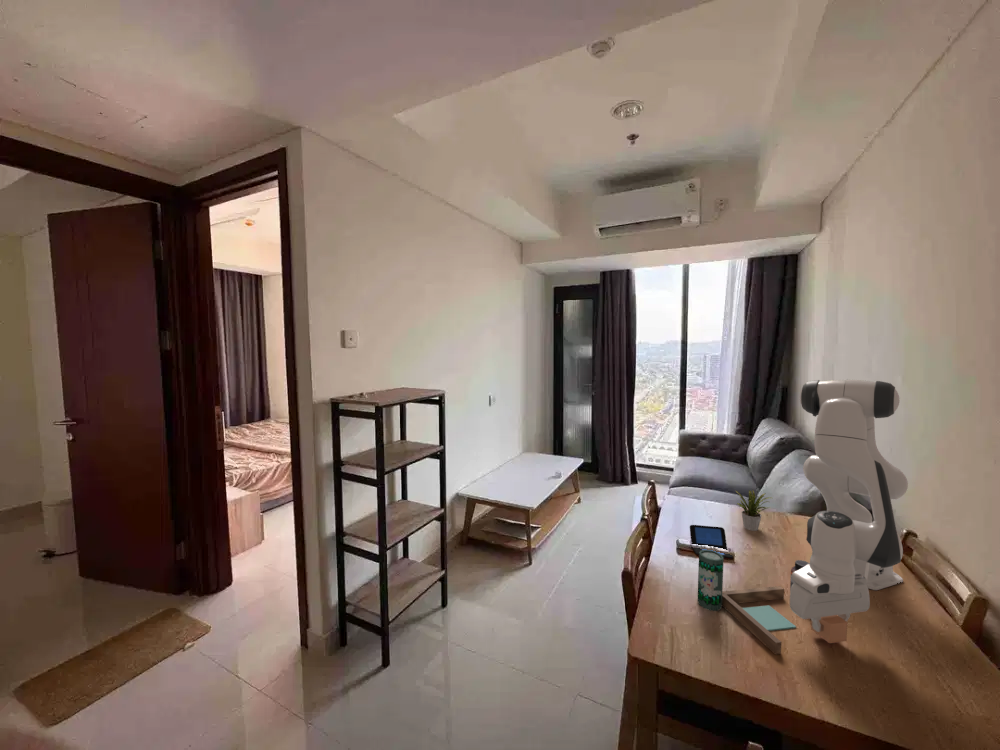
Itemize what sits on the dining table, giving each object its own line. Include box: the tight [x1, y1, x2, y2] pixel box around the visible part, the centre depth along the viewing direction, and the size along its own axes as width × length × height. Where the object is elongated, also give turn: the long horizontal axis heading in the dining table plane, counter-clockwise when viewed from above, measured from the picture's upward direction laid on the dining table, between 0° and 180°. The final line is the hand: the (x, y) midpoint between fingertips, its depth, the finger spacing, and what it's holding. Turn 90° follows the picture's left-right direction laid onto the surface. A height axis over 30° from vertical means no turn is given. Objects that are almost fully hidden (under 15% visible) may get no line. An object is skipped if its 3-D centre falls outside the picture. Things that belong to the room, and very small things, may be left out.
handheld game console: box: [689, 524, 734, 560], centre depth 148 cm, size 12×11×7 cm
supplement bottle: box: [789, 559, 810, 592], centre depth 119 cm, size 6×6×11 cm
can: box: [696, 550, 725, 612], centre depth 116 cm, size 6×6×15 cm
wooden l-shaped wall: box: [722, 585, 785, 655], centre depth 109 cm, size 21×21×3 cm
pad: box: [742, 604, 797, 632], centre depth 111 cm, size 9×9×1 cm
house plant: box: [735, 490, 772, 532], centre depth 165 cm, size 14×14×16 cm
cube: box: [810, 615, 849, 644], centre depth 102 cm, size 5×5×5 cm
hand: (828, 628), depth 102 cm, fingers closed on cube, 5 cm apart
